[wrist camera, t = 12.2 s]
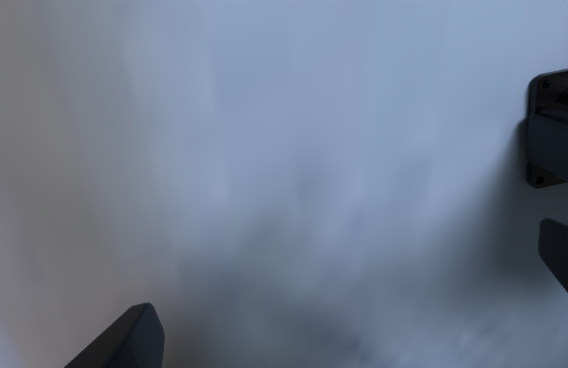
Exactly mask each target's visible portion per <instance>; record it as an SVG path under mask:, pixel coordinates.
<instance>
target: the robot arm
mask: <svg viewBox="0 0 568 368" xmlns="http://www.w3.org/2000/svg"><path fill="white" fill-rule="evenodd" d="M543 81H545V82H546V83H545V86H544V87H543V88H541V84H542V82H543ZM527 160H528V163H527V183H528V184H529V185H530V186H532V187H534V188H543V187H548V186H552V185H557V184H562V183H567V182H568V69H563V70H559V71H554V72H549V73H544V74H540V75H538V76H537V77H536V78H534V80H533V82H532V86H531V105H530V118H529V121H528V141H527ZM538 177H539V179H538V180H537V181H536V179H537V178H538ZM535 181H536V182H535ZM538 252H539V255H540V257H541V259H542V260H543V262H544V263H545V264H546V266H547V267H548V268H549V270H550V271H551V272H552V273H553V275H554V276H555V277H556V279H557V280H558V281H559V282H560V284H561V285H562V286H563V288H564V289H565V290H566V291H567V293H568V215H565V214H557V215H552V216H548V217H544V218H542V219H541V221H540V224H539V238H538ZM164 340H165V337H164V330H163V327H162V325H161V323H160V320H159V318H158V316H157V313H156V311H155V309H154V307H153V305H152V304H151V303H149V302H147V303H143V304H138V305H134V306H132V307H130V308H129V309H128V310H127V311H126V312H125V313H124V314H123V315H121V316H120V317H119V318H118V319H117V320H116V321H115V322H114V323H113V324H111V325H110V326H109V327H108V328H107V329H106V330H105V331H104V332H103V333H102V334H100V335H99V336H98V337H97V338H96V339H95V340H94V341H93V342H92V343H90V344H89V345H88V346H87V347H86V348H85V349H84V350H83V351H82V352H81V353H79V354H78V355H77V356H76V357H75V358H74V359H73V360H72V361H71V362H69V363H68V364H67V365H66V366H65V367H64V368H162V361H163V351H164Z"/></svg>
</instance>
